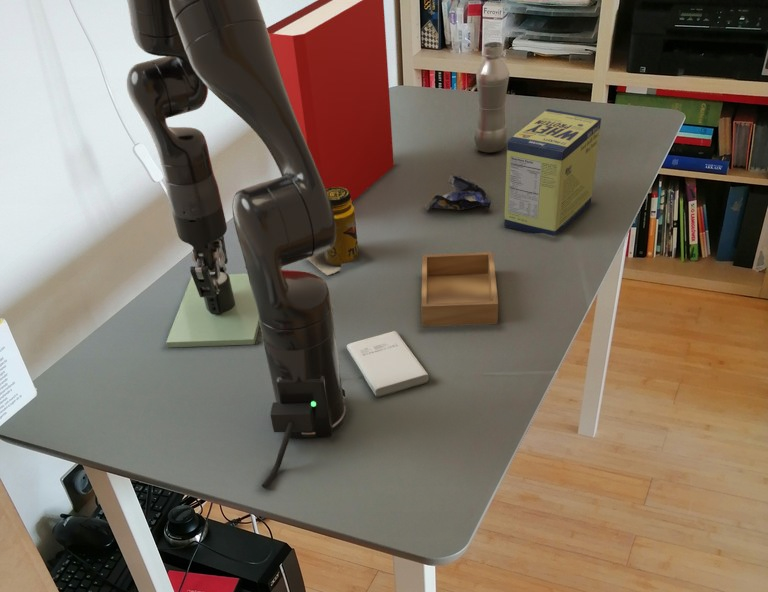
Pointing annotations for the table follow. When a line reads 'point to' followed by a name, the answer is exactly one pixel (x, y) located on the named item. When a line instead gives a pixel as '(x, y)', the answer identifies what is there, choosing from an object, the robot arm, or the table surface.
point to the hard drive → (387, 363)
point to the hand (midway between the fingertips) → (220, 303)
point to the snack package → (460, 196)
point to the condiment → (339, 233)
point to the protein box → (550, 171)
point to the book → (339, 88)
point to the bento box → (459, 289)
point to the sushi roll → (224, 292)
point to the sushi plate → (216, 319)
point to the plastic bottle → (491, 99)
